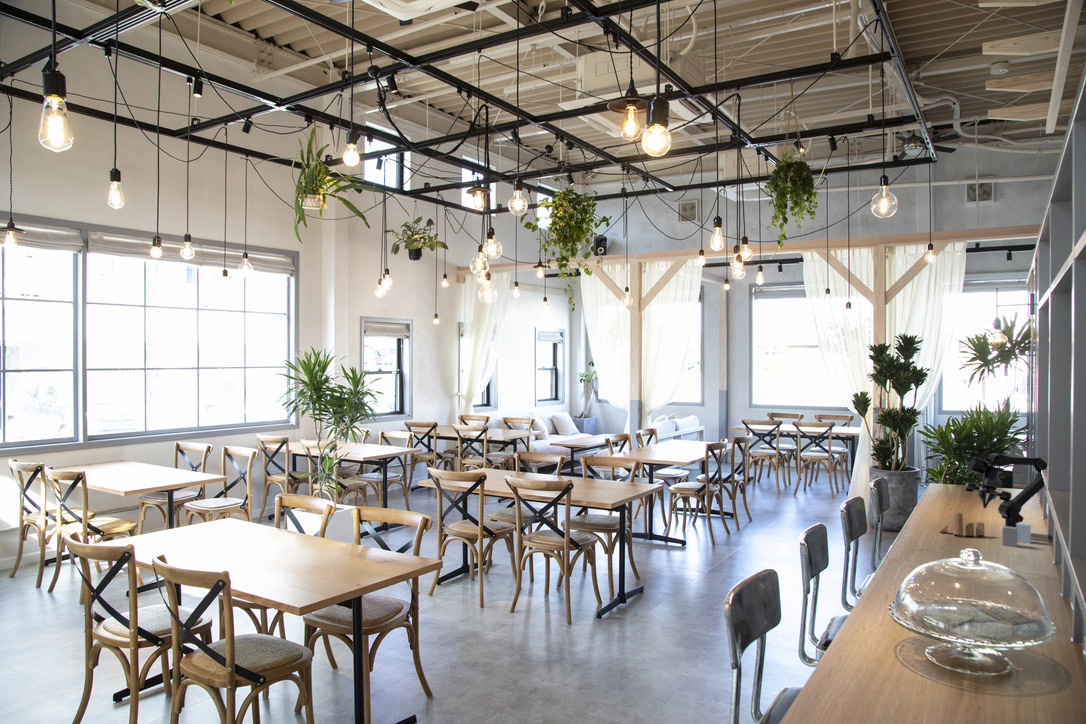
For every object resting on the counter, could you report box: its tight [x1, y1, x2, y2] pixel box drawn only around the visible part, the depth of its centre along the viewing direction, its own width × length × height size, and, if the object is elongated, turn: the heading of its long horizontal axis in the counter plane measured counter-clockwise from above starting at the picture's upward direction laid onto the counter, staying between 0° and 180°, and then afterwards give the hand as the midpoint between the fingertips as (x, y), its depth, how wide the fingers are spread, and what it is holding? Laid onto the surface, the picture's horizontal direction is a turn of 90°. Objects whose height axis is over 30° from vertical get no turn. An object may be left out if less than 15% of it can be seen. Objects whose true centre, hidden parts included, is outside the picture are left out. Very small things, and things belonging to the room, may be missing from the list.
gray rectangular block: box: [1002, 525, 1018, 548], centre depth 321 cm, size 5×5×8 cm
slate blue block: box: [1016, 522, 1032, 544], centre depth 329 cm, size 5×5×8 cm
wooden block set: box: [939, 512, 985, 537], centre depth 341 cm, size 18×9×10 cm, turn 68°
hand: (984, 507), depth 341 cm, fingers closed
